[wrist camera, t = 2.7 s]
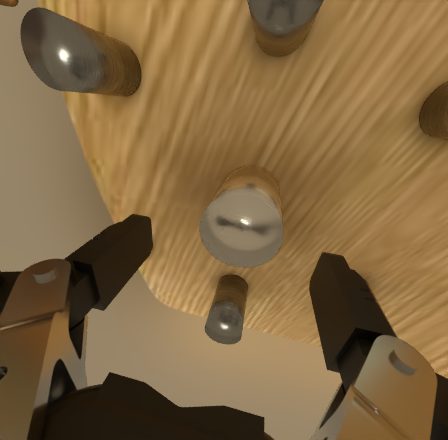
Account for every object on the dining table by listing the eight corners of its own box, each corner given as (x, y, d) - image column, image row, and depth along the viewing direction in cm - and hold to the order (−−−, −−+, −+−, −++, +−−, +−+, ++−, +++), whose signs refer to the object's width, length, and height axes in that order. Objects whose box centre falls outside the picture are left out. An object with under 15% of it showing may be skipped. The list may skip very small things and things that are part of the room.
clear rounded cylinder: (286, 170, 15) (293, 204, 10) (272, 224, 17) (272, 275, 12) (225, 160, 15) (202, 187, 10) (219, 213, 17) (197, 257, 12)
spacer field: (559, -5, 9) (823, -109, 5) (346, 324, 20) (366, 383, 16) (85, -30, 12) (-22, -109, 8) (129, 271, 23) (97, 309, 19)
